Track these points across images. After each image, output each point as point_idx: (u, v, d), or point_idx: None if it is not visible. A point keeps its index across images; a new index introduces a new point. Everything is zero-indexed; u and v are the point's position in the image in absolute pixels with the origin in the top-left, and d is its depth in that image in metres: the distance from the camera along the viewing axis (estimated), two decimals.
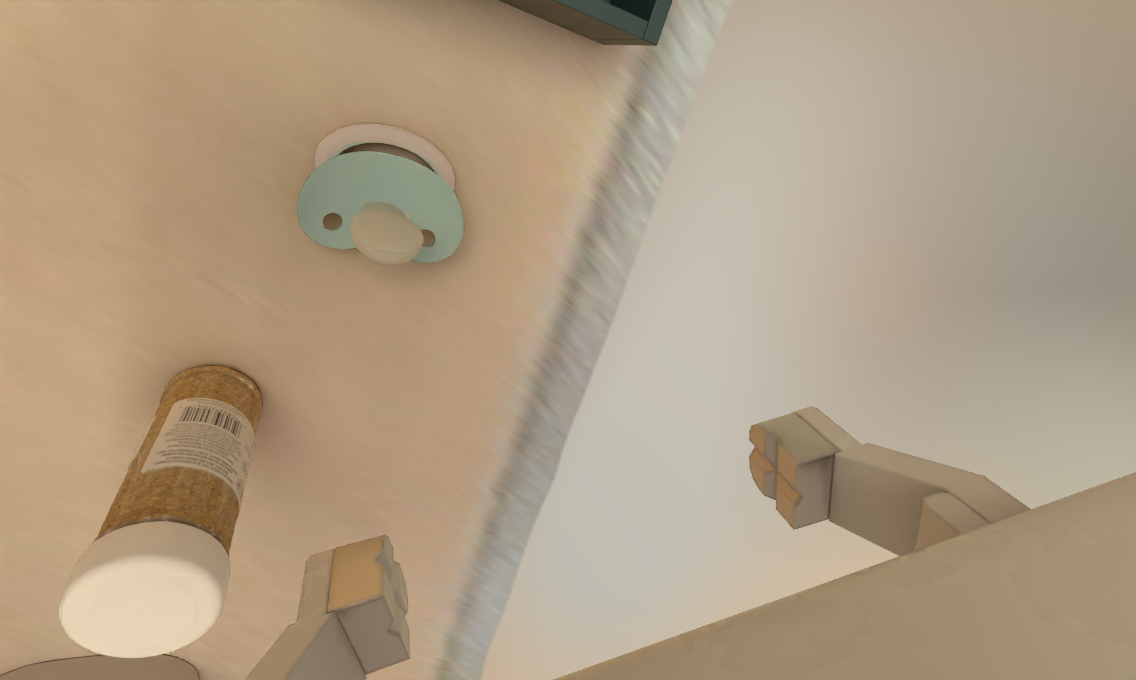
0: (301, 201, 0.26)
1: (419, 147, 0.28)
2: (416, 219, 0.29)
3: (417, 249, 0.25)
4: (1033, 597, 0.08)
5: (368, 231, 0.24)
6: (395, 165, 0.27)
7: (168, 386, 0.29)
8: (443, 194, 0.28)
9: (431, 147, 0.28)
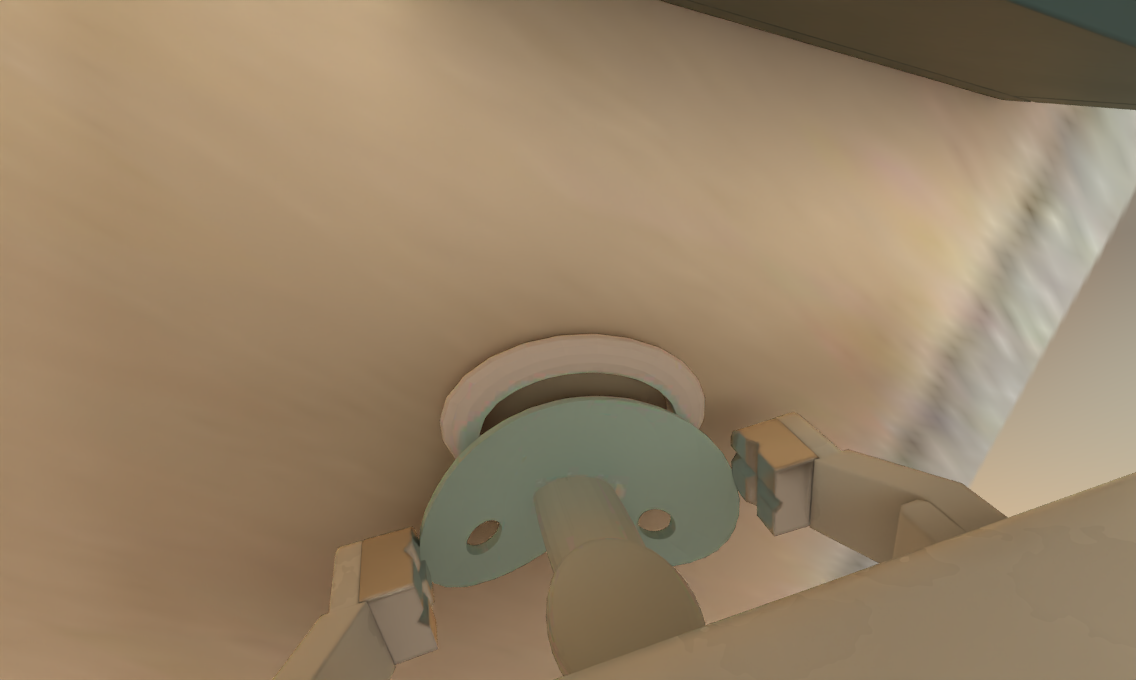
0: (426, 538, 0.12)
1: (644, 368, 0.13)
2: (637, 493, 0.14)
3: None
4: (1033, 597, 0.08)
5: (595, 649, 0.10)
6: (602, 415, 0.13)
7: None
8: (695, 453, 0.14)
9: (666, 361, 0.14)
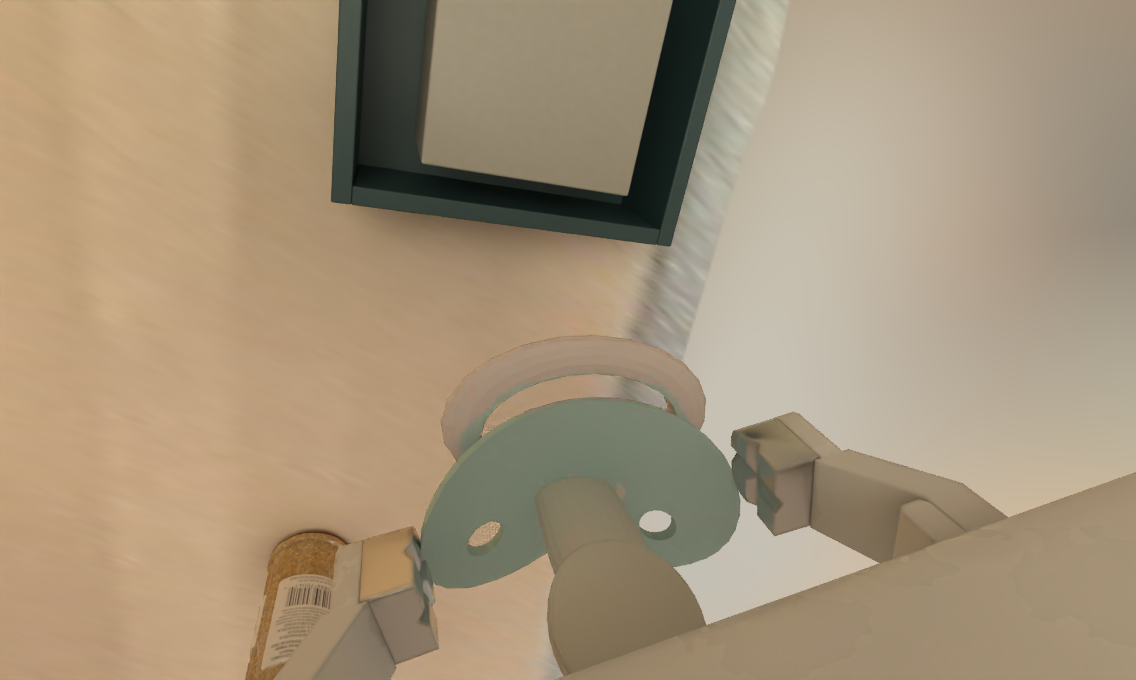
0: (427, 539, 0.12)
1: (645, 369, 0.13)
2: (638, 494, 0.15)
3: None
4: (1033, 597, 0.08)
5: (596, 650, 0.10)
6: (603, 417, 0.13)
7: (272, 556, 0.33)
8: (696, 454, 0.14)
9: (667, 362, 0.14)
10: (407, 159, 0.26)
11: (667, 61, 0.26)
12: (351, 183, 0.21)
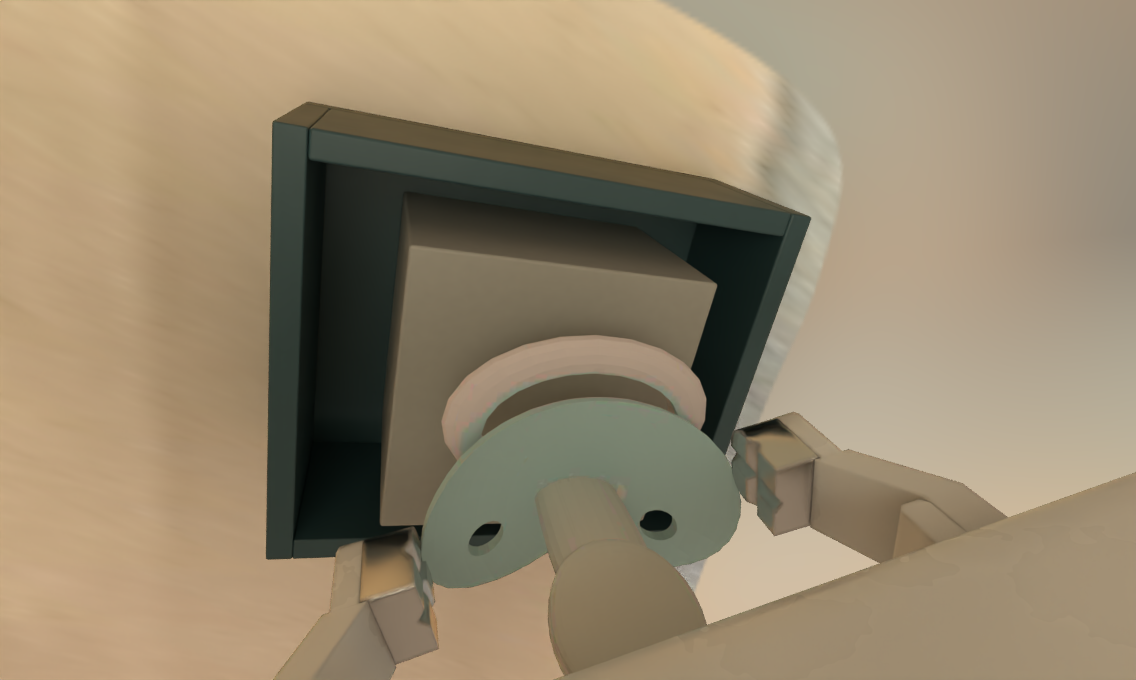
0: (428, 539, 0.12)
1: (645, 369, 0.13)
2: (639, 494, 0.15)
3: None
4: (1033, 597, 0.08)
5: (597, 650, 0.10)
6: (603, 416, 0.13)
7: None
8: (697, 454, 0.14)
9: (667, 362, 0.14)
10: (374, 430, 0.22)
11: None
12: (291, 538, 0.17)
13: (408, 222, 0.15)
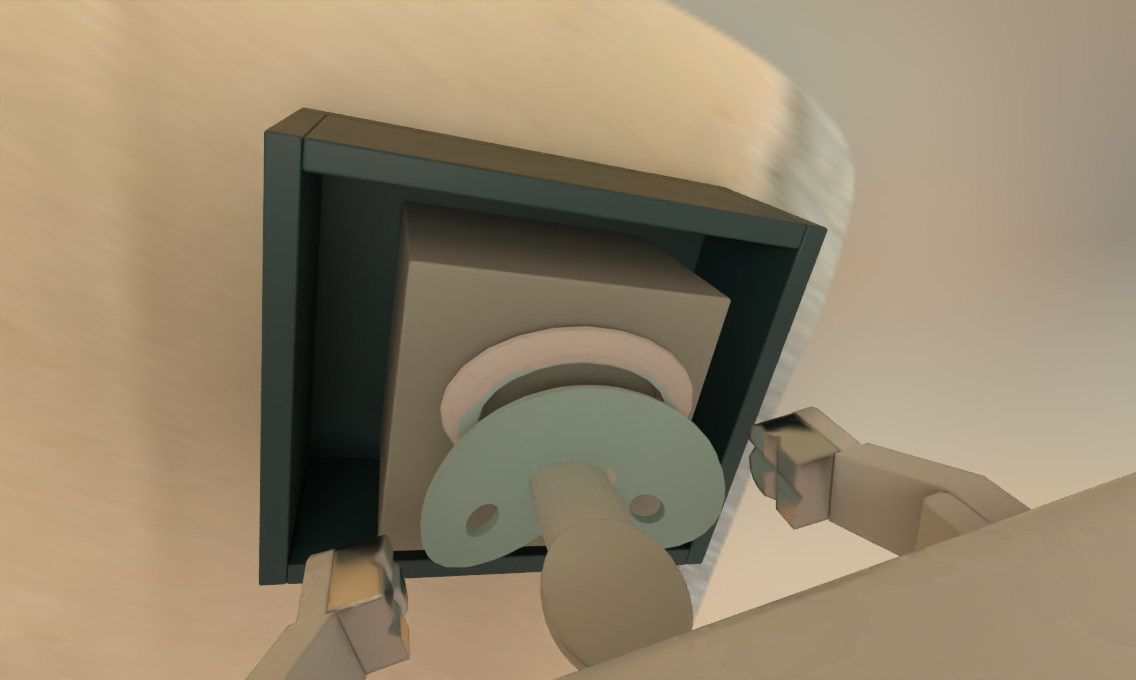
0: (427, 519, 0.13)
1: (634, 358, 0.14)
2: (628, 479, 0.15)
3: None
4: (1033, 597, 0.08)
5: (586, 619, 0.11)
6: (594, 404, 0.14)
7: None
8: (683, 439, 0.14)
9: (655, 352, 0.14)
10: (373, 446, 0.21)
11: None
12: (286, 563, 0.16)
13: (408, 235, 0.14)
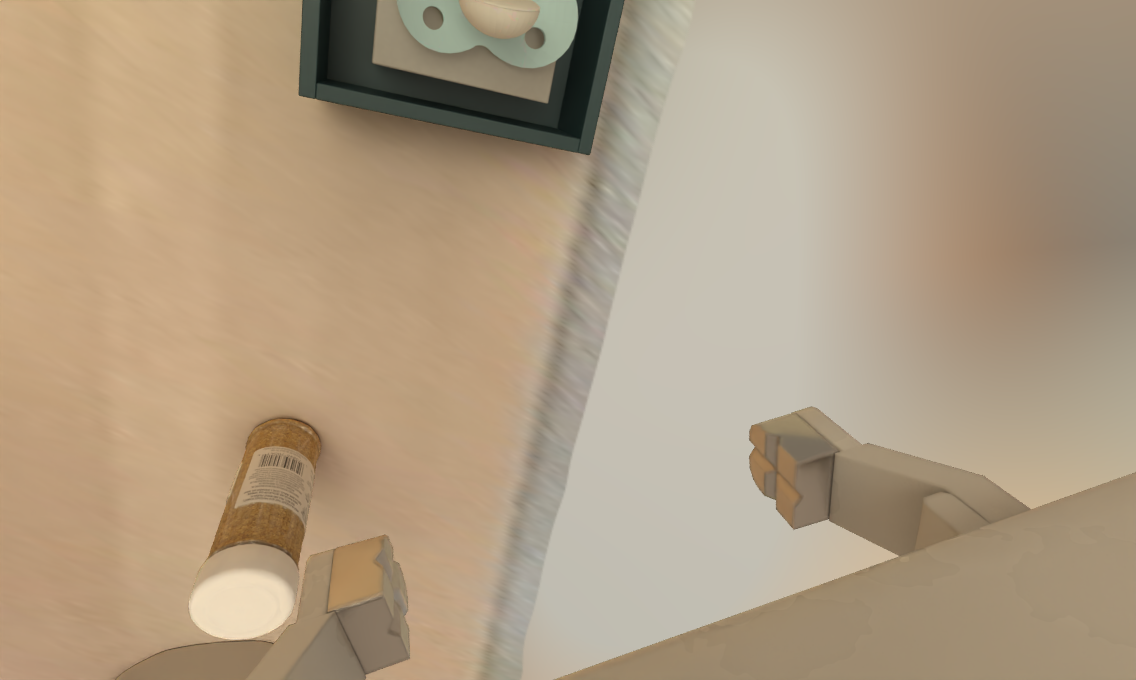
0: None
1: None
2: None
3: (535, 13, 0.21)
4: (1033, 597, 0.08)
5: None
6: None
7: (250, 437, 0.38)
8: None
9: None
10: (369, 77, 0.31)
11: None
12: (315, 80, 0.26)
13: None
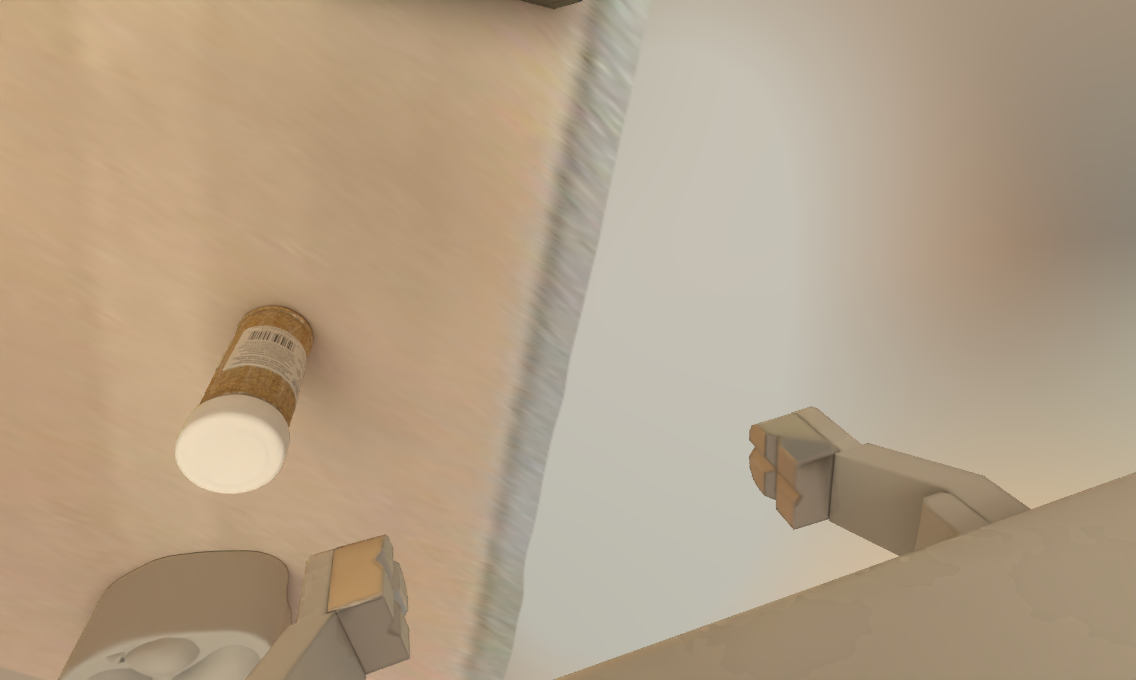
0: None
1: None
2: None
3: None
4: (1033, 597, 0.08)
5: None
6: None
7: (240, 323, 0.37)
8: None
9: None
10: None
11: None
12: None
13: None
